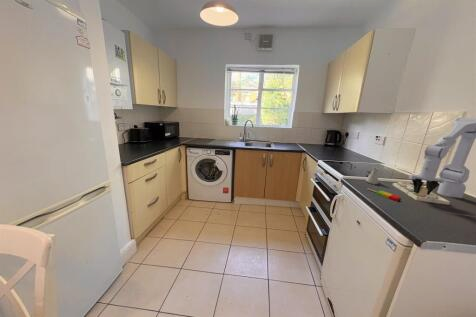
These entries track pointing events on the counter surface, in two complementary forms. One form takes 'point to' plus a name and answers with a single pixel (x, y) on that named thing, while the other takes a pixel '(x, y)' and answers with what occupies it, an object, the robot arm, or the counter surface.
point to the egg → (422, 192)
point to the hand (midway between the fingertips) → (421, 193)
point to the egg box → (428, 198)
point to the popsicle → (387, 195)
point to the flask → (373, 176)
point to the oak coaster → (404, 183)
